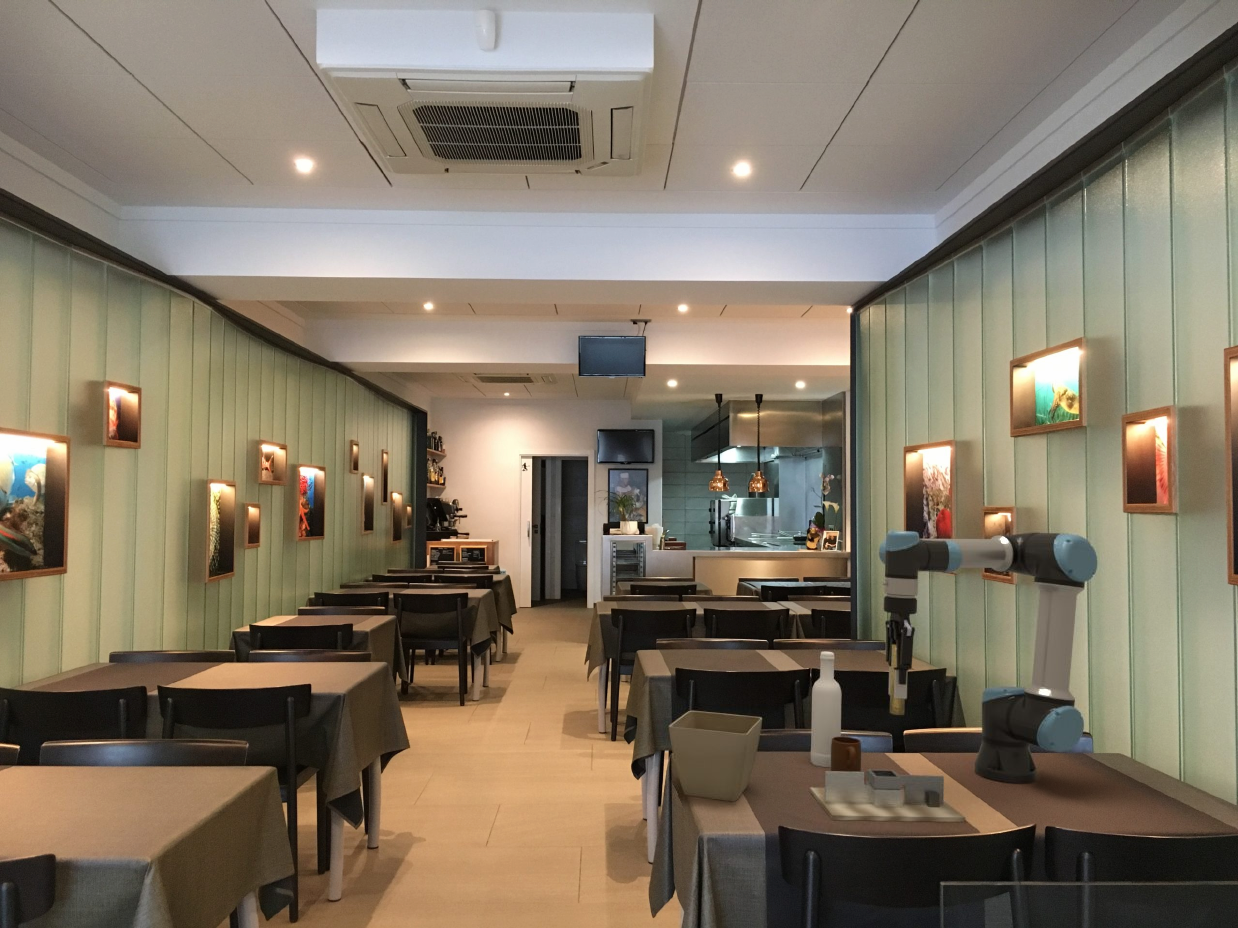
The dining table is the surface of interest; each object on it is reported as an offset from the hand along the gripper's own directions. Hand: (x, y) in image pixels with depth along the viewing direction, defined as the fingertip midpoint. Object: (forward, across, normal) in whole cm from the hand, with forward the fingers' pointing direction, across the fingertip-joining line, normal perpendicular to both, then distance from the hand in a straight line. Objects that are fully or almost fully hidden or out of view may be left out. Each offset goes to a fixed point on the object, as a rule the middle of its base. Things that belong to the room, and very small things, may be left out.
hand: (897, 696), depth 213 cm
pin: (+4, 0, 0) cm, 4 cm away
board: (+26, 0, -2) cm, 26 cm away
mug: (+26, -21, -5) cm, 34 cm away
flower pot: (+27, -9, -41) cm, 49 cm away
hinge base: (+25, +1, -4) cm, 25 cm away
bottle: (+26, -35, -7) cm, 44 cm away
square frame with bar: (+24, +1, +3) cm, 24 cm away
